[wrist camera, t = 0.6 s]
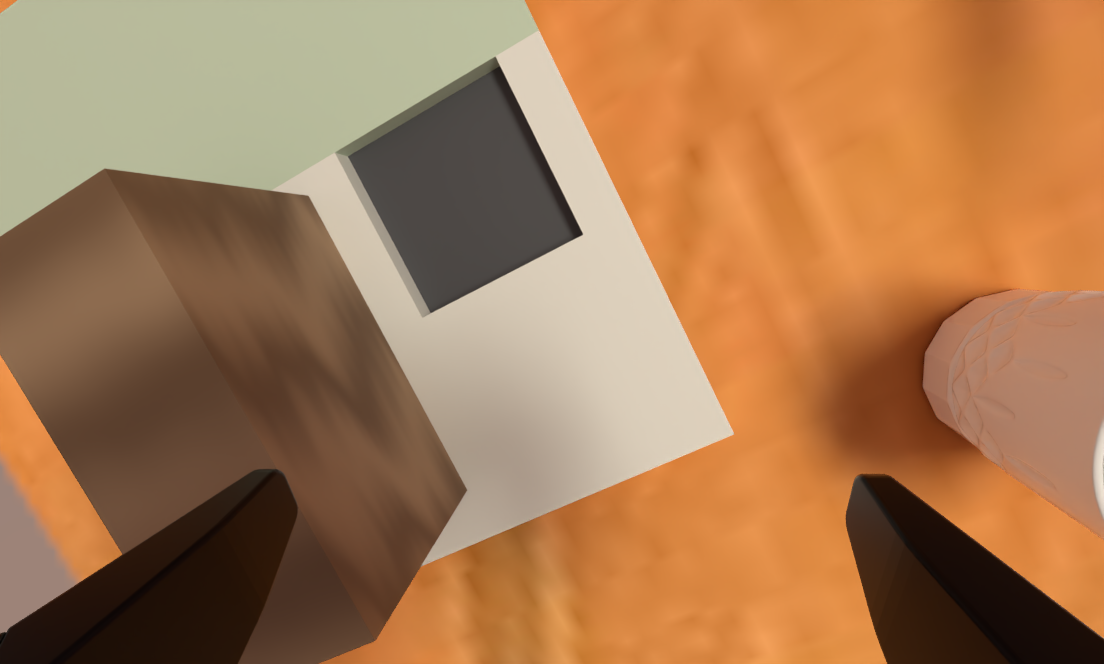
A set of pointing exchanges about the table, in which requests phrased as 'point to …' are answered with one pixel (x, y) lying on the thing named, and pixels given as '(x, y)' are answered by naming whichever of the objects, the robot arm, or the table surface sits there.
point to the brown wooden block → (227, 388)
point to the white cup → (1029, 391)
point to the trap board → (395, 209)
